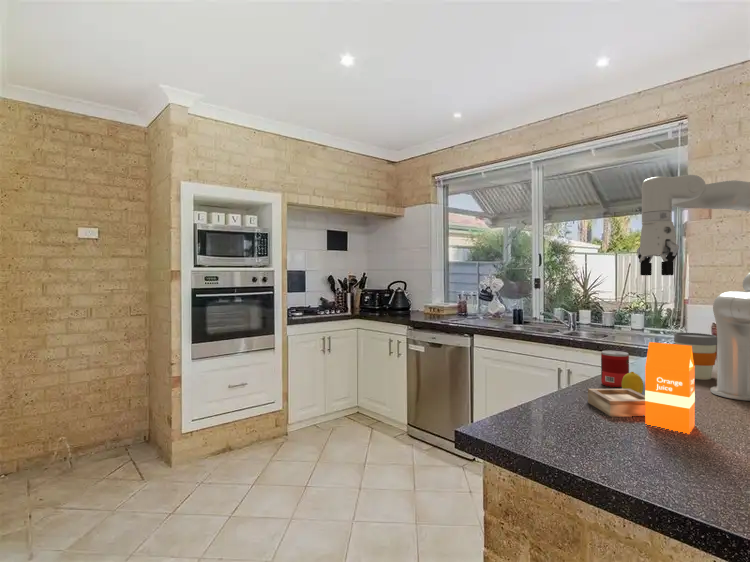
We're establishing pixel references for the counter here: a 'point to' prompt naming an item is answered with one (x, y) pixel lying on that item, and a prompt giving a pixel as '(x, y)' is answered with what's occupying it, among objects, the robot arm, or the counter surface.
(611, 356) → the canned food
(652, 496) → the counter surface
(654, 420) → the orange juice
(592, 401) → the square wooden box
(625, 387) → the lemon
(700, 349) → the reusable coffee cup
